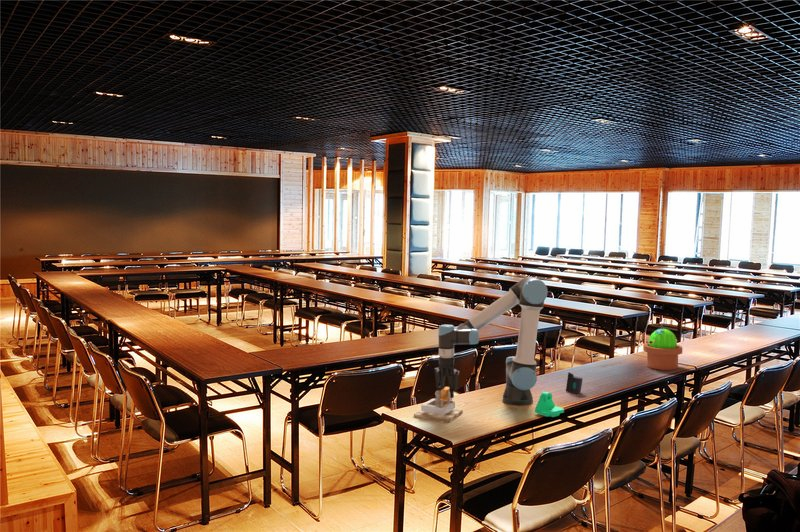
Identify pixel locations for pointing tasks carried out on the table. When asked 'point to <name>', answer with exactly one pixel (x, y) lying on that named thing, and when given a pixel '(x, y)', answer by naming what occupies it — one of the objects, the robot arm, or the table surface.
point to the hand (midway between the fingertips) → (446, 403)
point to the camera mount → (547, 406)
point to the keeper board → (439, 417)
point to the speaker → (574, 383)
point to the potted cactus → (662, 350)
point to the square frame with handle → (445, 404)
